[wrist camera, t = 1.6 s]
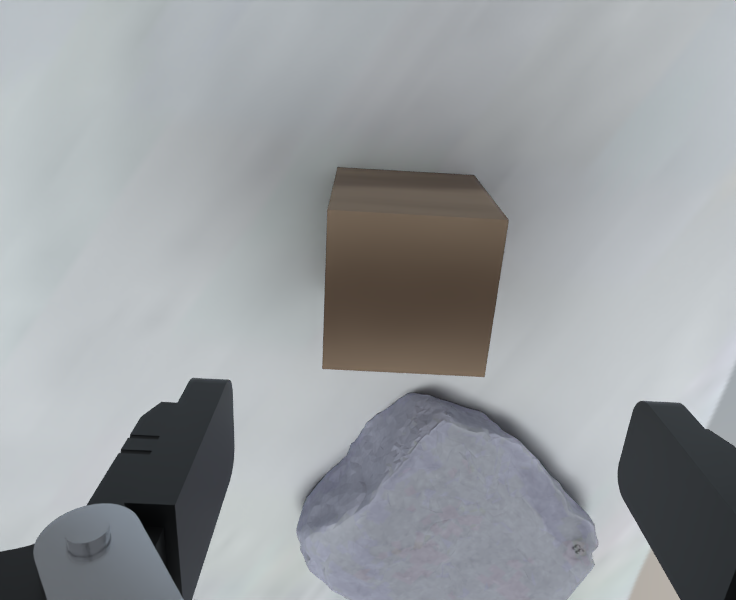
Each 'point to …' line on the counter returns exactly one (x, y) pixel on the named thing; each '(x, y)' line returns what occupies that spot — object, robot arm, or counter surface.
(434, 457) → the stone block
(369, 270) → the walnut block
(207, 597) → the counter surface
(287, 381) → the counter surface
